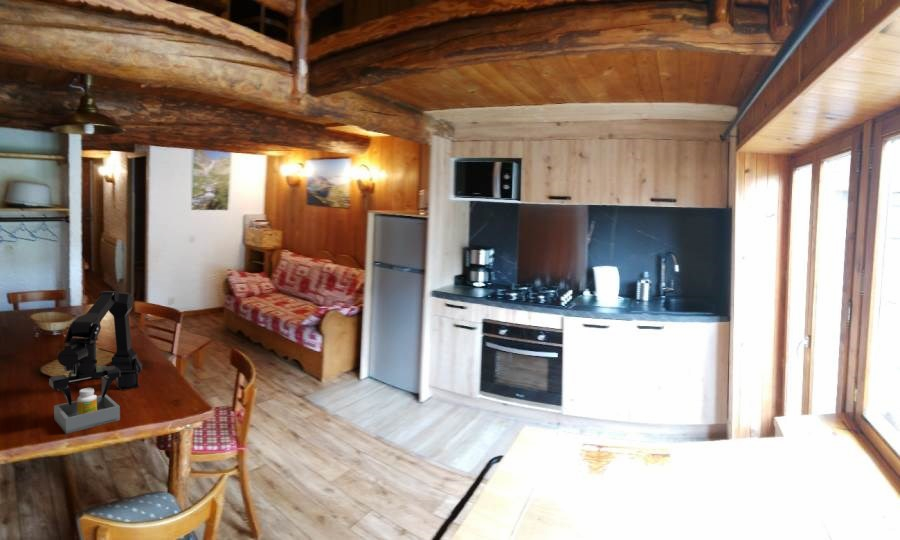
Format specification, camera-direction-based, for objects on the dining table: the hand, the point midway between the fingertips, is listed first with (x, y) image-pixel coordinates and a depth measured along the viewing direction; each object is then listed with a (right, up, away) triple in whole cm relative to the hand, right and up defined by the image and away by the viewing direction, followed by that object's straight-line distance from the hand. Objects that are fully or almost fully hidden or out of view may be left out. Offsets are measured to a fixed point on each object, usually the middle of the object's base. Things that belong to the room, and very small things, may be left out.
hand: (86, 401), depth 165 cm
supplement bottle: (0, -6, +1) cm, 6 cm away
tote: (0, -7, +1) cm, 7 cm away
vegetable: (-26, -1, +36) cm, 44 cm away
